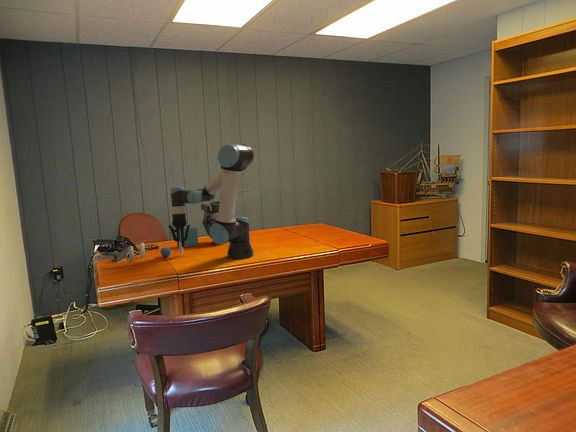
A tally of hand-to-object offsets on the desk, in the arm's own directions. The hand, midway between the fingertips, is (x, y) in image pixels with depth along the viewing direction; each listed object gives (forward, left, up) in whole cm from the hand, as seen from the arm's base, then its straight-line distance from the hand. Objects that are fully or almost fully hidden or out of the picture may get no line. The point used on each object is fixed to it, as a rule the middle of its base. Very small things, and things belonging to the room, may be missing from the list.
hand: (181, 252), depth 252 cm
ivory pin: (+23, 0, -2) cm, 23 cm away
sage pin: (+26, +9, -2) cm, 28 cm away
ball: (+9, 0, +1) cm, 9 cm away
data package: (+4, -30, -3) cm, 30 cm away
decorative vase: (-15, -37, -3) cm, 40 cm away
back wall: (+35, 0, -2) cm, 35 cm away
